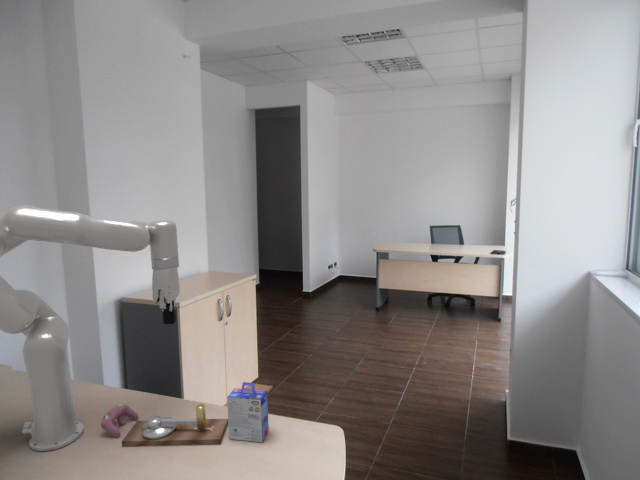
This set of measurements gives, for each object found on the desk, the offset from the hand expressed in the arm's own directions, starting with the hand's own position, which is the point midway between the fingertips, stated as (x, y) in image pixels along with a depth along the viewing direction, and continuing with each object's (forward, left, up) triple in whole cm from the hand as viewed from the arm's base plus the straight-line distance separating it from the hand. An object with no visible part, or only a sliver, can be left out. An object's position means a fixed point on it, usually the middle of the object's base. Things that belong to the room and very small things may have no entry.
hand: (169, 323), depth 125 cm
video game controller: (-13, -10, -27) cm, 32 cm away
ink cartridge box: (+25, -15, -27) cm, 40 cm away
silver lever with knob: (+4, -14, -25) cm, 29 cm away
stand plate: (+5, -14, -27) cm, 31 cm away
